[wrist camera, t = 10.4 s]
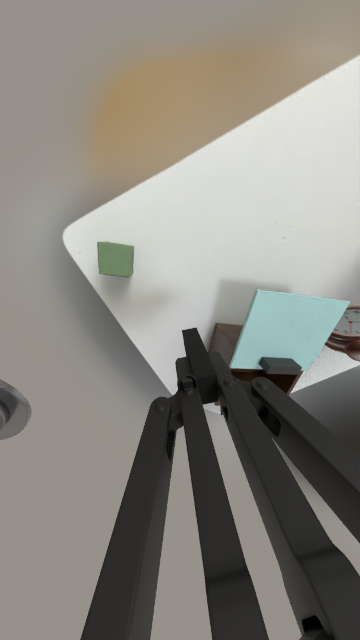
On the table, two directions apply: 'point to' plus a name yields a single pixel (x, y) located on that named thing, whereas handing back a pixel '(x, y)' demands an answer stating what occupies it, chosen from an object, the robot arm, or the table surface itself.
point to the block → (115, 259)
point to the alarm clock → (347, 334)
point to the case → (225, 345)
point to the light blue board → (285, 331)
